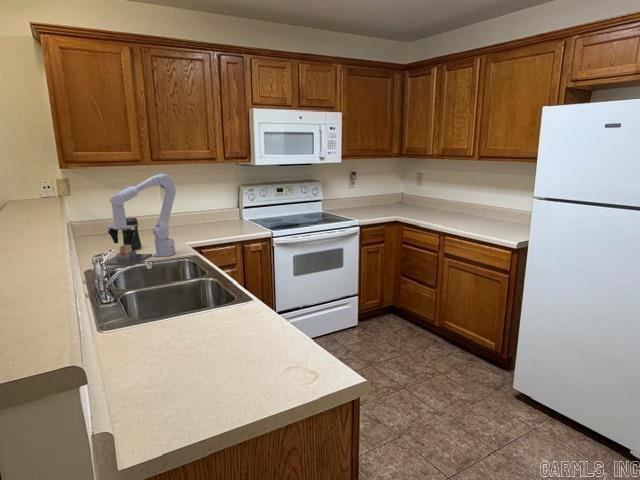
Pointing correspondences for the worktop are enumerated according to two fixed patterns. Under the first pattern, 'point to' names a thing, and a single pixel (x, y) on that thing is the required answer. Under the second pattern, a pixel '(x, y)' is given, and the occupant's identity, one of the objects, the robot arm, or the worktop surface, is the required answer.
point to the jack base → (128, 259)
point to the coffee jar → (135, 238)
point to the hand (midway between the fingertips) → (123, 243)
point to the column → (125, 249)
